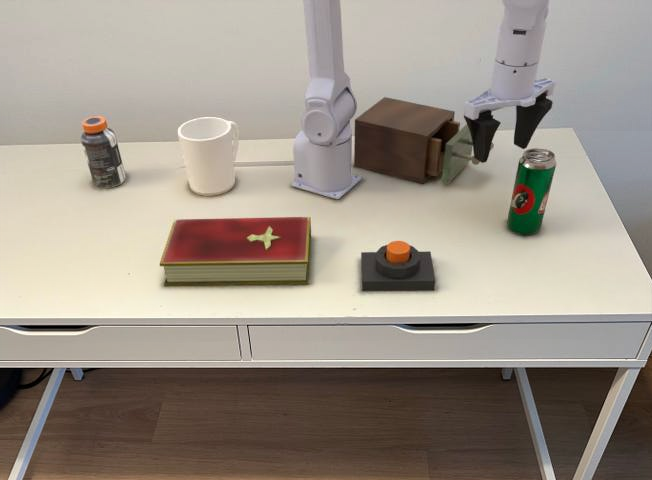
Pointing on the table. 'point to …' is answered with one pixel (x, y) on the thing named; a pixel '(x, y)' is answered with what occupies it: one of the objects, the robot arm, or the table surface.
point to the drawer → (450, 151)
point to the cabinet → (397, 137)
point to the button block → (397, 271)
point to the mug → (209, 154)
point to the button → (398, 252)
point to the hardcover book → (238, 251)
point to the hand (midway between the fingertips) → (500, 153)
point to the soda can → (531, 191)
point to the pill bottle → (102, 153)
